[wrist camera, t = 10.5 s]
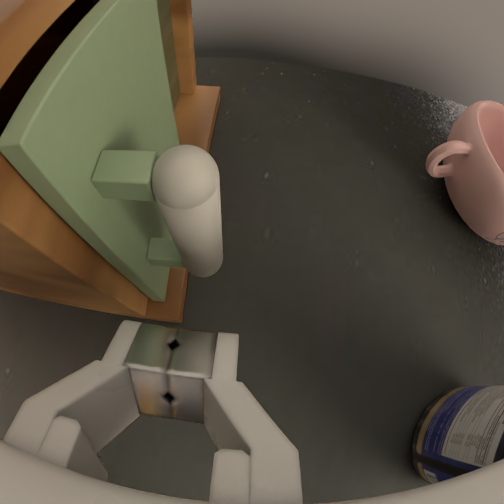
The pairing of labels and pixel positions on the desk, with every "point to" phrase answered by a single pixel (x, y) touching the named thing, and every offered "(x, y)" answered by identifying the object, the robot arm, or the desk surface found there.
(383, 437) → the desk surface
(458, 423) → the pill bottle
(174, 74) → the cupboard
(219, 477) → the robot arm
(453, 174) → the mug
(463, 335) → the desk surface
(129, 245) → the sliding door
